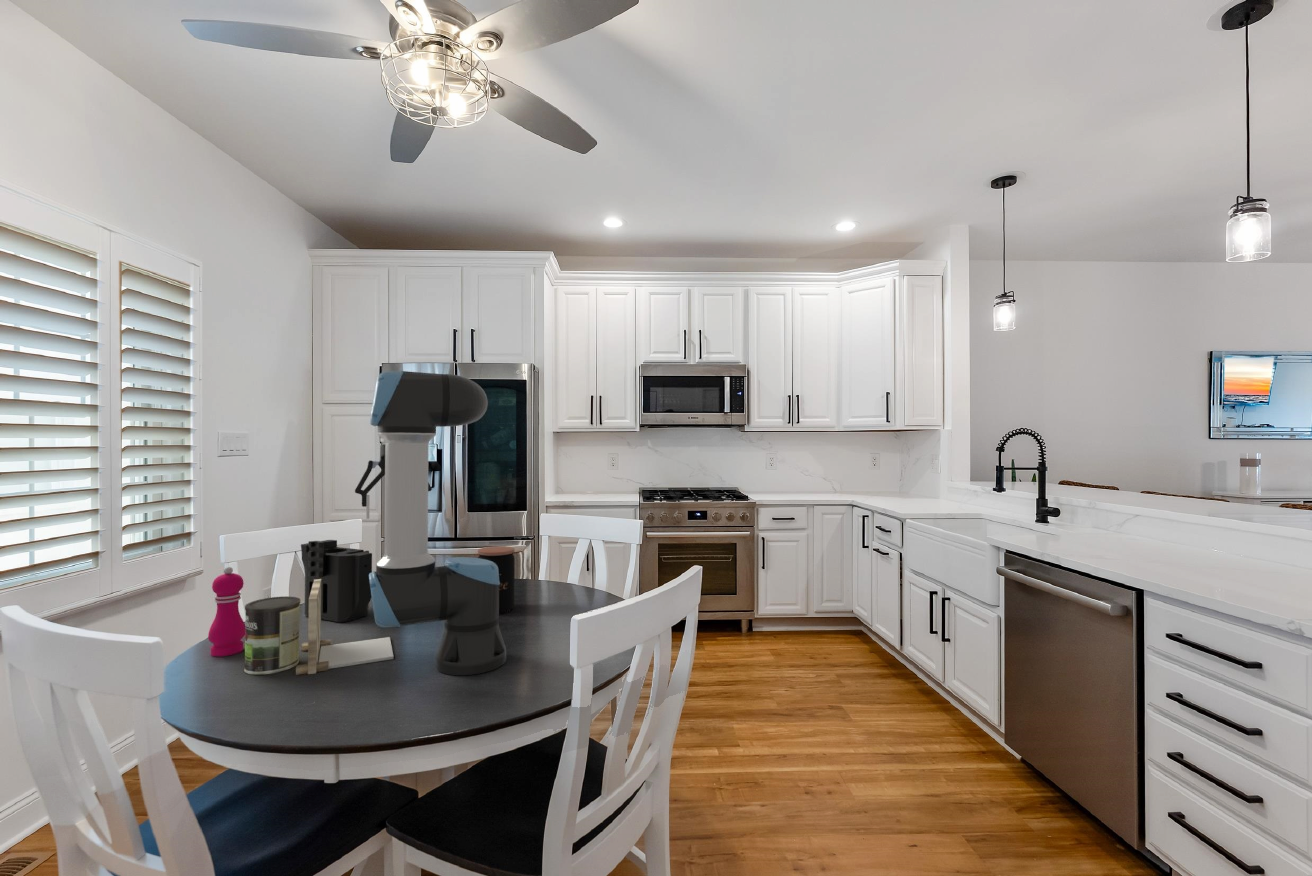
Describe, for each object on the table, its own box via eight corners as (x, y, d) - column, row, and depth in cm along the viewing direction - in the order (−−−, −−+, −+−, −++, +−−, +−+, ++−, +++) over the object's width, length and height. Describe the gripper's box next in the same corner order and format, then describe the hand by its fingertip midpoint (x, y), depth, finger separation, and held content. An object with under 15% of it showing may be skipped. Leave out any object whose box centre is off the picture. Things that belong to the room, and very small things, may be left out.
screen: (328, 671, 126) (328, 597, 126) (295, 676, 123) (296, 600, 124) (331, 643, 144) (331, 578, 144) (302, 646, 141) (303, 580, 141)
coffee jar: (470, 614, 169) (470, 551, 169) (487, 604, 180) (487, 545, 180) (505, 616, 167) (505, 553, 167) (519, 605, 178) (520, 546, 178)
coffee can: (250, 679, 122) (251, 611, 122) (238, 666, 129) (239, 602, 129) (306, 665, 129) (306, 601, 130) (291, 654, 136) (292, 593, 137)
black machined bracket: (329, 607, 175) (329, 534, 175) (379, 615, 167) (380, 538, 167) (291, 618, 164) (291, 540, 164) (343, 627, 156) (343, 545, 156)
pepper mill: (252, 649, 139) (253, 565, 140) (219, 659, 133) (220, 571, 133) (234, 644, 142) (235, 562, 143) (201, 654, 136) (202, 568, 136)
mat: (393, 658, 134) (393, 656, 134) (317, 670, 127) (317, 667, 127) (389, 639, 147) (389, 636, 147) (321, 648, 140) (321, 646, 140)
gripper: (438, 443, 178) (437, 513, 178) (346, 443, 167) (345, 517, 167) (441, 443, 172) (441, 516, 171) (345, 443, 160) (344, 520, 160)
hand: (393, 517), depth 169 cm, fingers open, 13 cm apart
